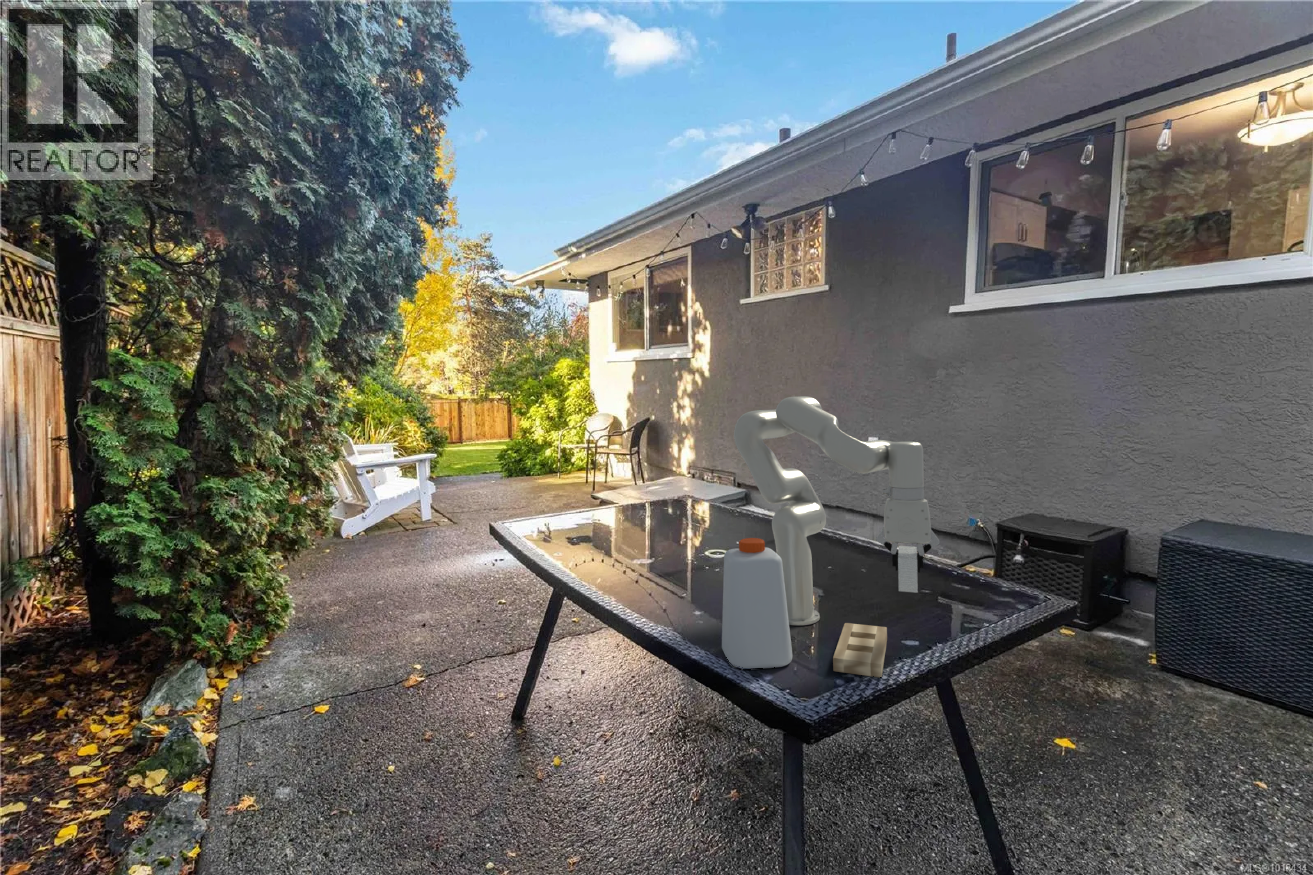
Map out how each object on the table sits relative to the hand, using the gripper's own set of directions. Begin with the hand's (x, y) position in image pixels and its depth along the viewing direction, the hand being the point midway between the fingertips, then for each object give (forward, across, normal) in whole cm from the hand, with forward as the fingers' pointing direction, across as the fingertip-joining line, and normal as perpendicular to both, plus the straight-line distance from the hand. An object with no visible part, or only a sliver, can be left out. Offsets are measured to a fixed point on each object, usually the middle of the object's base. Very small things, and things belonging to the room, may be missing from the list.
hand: (907, 569), depth 138 cm
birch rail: (+19, -10, -7) cm, 23 cm away
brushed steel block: (+4, 0, 0) cm, 4 cm away
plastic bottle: (+19, -33, -16) cm, 42 cm away
